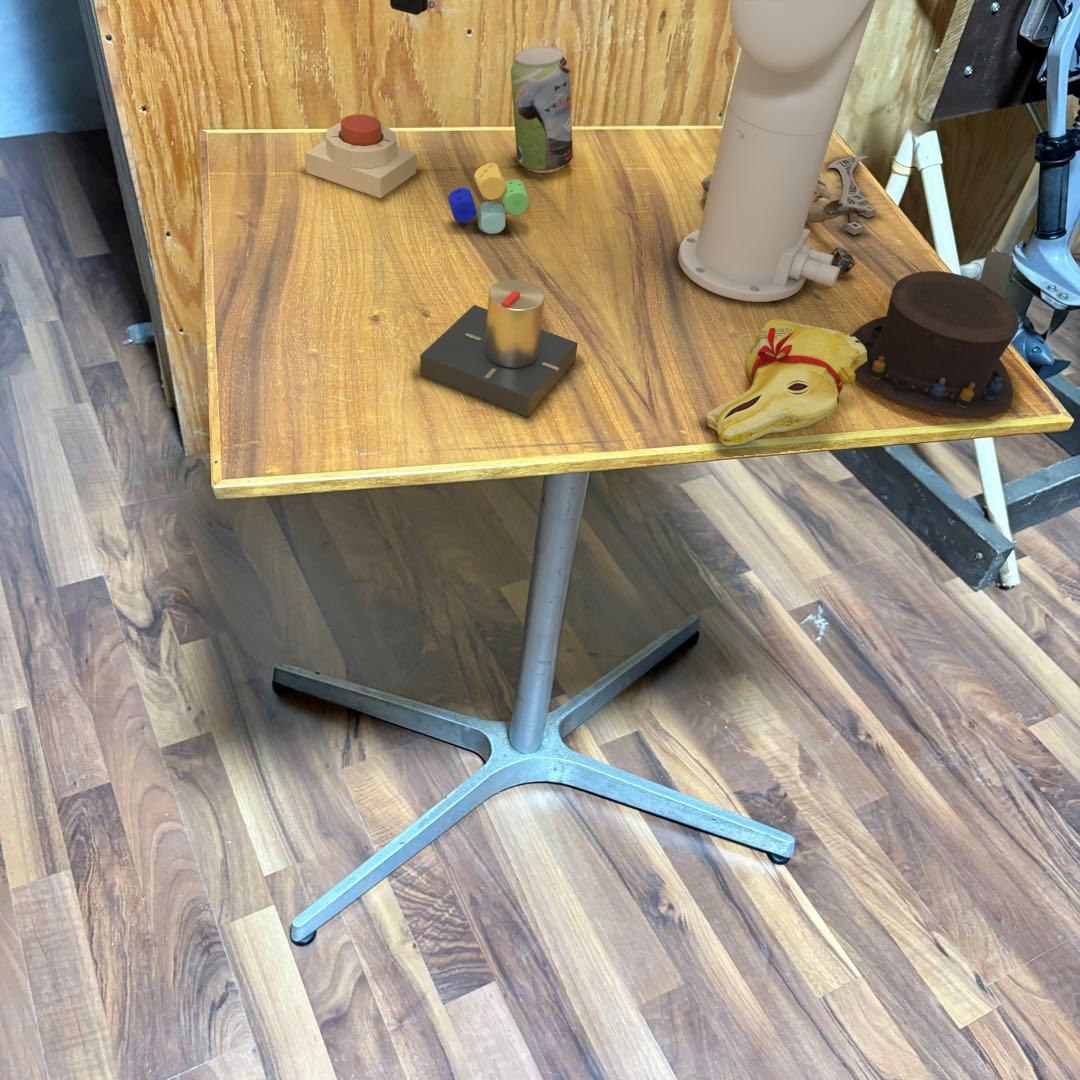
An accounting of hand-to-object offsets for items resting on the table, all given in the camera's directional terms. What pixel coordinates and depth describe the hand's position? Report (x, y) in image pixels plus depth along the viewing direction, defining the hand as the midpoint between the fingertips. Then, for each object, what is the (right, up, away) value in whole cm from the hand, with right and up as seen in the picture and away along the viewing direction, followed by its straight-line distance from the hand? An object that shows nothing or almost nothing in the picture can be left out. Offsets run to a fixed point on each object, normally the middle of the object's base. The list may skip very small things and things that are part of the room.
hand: (408, 9), depth 101 cm
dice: (+7, -20, +4) cm, 21 cm away
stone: (+34, -14, +16) cm, 40 cm away
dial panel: (+9, -36, -12) cm, 39 cm away
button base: (-6, -12, +10) cm, 17 cm away
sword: (+44, -11, +17) cm, 49 cm away
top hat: (+47, -36, -6) cm, 59 cm away
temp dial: (+10, -35, -14) cm, 39 cm away
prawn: (+42, -11, +7) cm, 44 cm away
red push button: (-6, -10, +7) cm, 13 cm away
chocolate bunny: (+36, -33, -11) cm, 51 cm away
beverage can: (+12, -10, +15) cm, 22 cm away
